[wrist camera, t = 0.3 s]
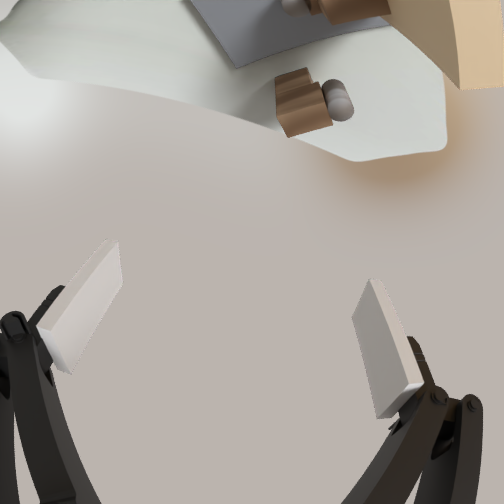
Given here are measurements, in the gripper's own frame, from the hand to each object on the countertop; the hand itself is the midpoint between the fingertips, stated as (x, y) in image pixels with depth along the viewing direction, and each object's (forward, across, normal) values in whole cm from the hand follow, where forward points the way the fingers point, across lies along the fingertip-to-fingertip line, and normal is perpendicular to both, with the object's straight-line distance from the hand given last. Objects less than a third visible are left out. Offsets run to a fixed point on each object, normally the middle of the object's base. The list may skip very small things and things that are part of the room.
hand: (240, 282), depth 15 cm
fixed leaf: (+25, +4, +24) cm, 36 cm away
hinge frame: (+27, +2, +24) cm, 36 cm away
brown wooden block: (+34, +5, +12) cm, 36 cm away
